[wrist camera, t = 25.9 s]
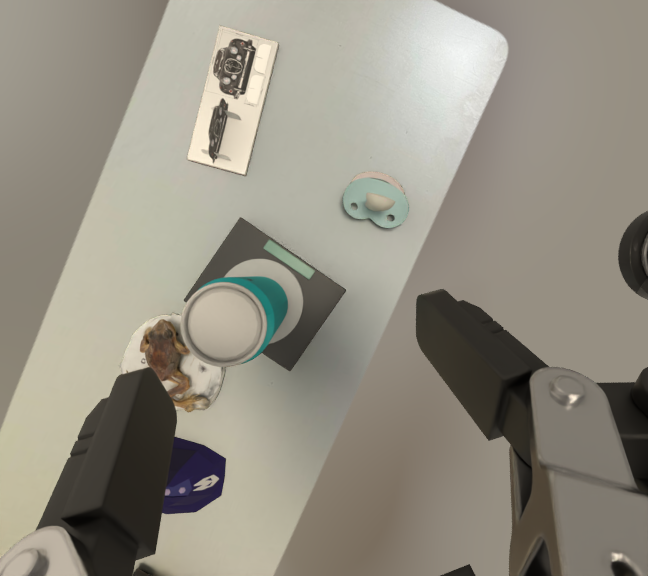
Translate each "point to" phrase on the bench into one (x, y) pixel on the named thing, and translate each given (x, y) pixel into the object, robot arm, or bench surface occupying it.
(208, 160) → the car cutout
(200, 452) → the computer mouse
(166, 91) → the bench surface
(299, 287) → the scale
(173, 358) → the frog figurine
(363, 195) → the pacifier
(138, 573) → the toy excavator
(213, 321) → the beverage can
